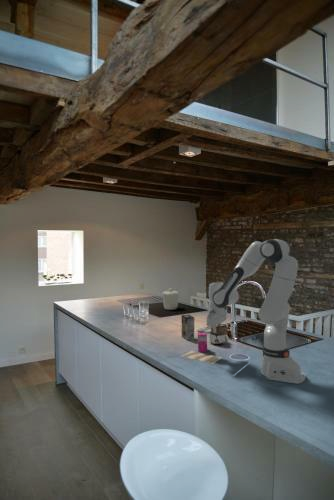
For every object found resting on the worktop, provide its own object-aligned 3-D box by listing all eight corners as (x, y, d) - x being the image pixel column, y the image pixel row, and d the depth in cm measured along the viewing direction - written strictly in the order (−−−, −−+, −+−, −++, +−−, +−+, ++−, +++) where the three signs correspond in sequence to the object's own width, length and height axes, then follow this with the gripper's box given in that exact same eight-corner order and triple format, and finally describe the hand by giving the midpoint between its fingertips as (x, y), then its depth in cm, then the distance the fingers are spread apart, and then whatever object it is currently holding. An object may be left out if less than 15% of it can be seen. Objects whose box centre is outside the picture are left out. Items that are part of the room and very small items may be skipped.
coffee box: (181, 336, 251) (181, 315, 250) (189, 335, 253) (189, 314, 253) (186, 340, 242) (186, 317, 242) (194, 339, 245) (194, 316, 244)
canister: (176, 311, 337) (176, 290, 337) (159, 310, 344) (159, 289, 343) (181, 307, 354) (181, 287, 354) (165, 306, 361) (165, 286, 360)
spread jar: (208, 344, 234) (208, 327, 233) (213, 339, 243) (213, 323, 243) (224, 346, 228) (224, 329, 227) (230, 342, 238) (230, 325, 237)
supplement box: (197, 349, 221) (197, 332, 221) (207, 350, 221) (207, 332, 220) (197, 352, 216) (197, 335, 215) (207, 353, 215) (207, 335, 215)
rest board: (222, 358, 205) (222, 357, 205) (213, 365, 195) (213, 363, 195) (191, 352, 217) (191, 350, 217) (181, 357, 207) (181, 356, 207)
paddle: (228, 332, 205) (228, 326, 205) (223, 336, 198) (222, 329, 198) (203, 329, 215) (203, 323, 214) (197, 332, 208) (197, 325, 208)
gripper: (213, 312, 194) (213, 336, 195) (228, 306, 211) (228, 328, 212) (203, 311, 198) (204, 334, 198) (218, 305, 215) (219, 327, 215)
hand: (216, 331), depth 205 cm, fingers closed on paddle, 3 cm apart
